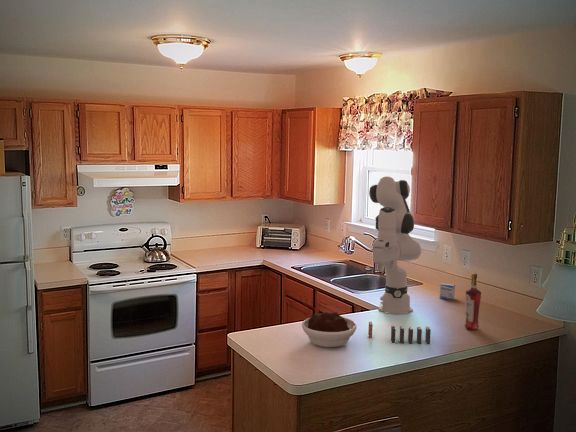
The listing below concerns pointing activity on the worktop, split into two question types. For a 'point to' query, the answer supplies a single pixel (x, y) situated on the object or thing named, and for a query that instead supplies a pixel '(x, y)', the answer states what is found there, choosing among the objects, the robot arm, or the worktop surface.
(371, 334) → the domino
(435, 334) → the worktop surface
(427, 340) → the domino
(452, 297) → the medicine box
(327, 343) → the bowl of chocolate
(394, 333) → the domino
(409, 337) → the domino
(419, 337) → the domino
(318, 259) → the worktop surface
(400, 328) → the domino
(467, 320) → the liquor
